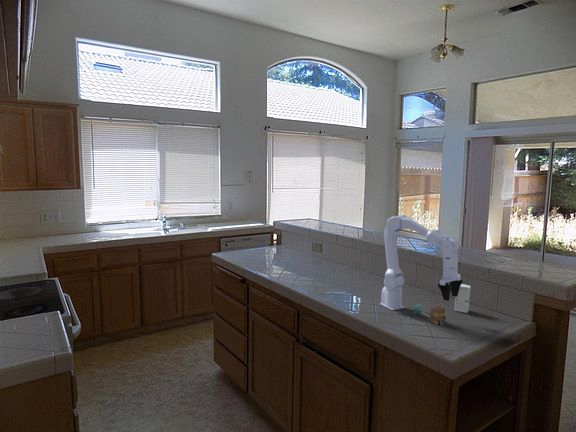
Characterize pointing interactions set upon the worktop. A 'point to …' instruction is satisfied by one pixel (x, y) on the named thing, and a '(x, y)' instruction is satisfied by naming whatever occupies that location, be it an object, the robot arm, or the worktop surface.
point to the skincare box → (463, 299)
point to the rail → (419, 312)
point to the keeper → (437, 314)
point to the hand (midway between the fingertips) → (450, 298)
